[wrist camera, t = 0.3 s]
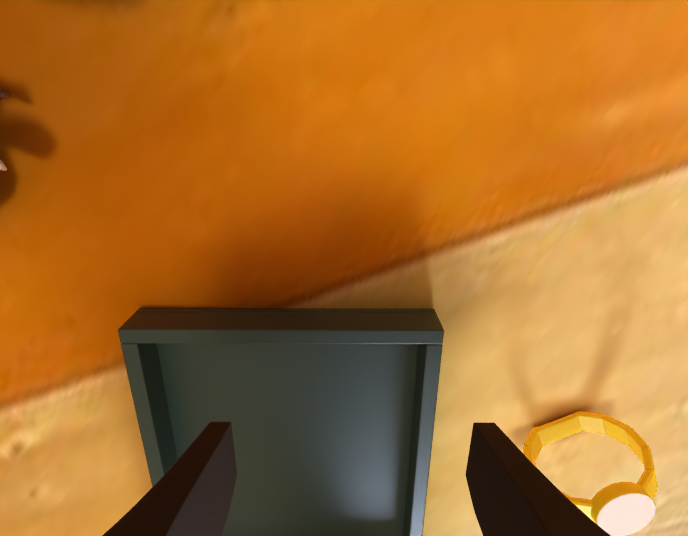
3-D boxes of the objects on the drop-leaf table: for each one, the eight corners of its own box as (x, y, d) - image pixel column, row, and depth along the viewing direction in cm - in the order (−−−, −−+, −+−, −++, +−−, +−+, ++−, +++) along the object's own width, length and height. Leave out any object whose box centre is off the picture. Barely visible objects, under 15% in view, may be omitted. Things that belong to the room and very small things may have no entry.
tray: (410, 558, 29) (416, 594, 27) (188, 558, 29) (176, 594, 26) (434, 308, 22) (444, 330, 19) (139, 307, 22) (117, 329, 19)
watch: (516, 456, 25) (565, 553, 20) (504, 423, 24) (552, 516, 19) (614, 426, 25) (693, 519, 19) (606, 391, 24) (687, 478, 18)
